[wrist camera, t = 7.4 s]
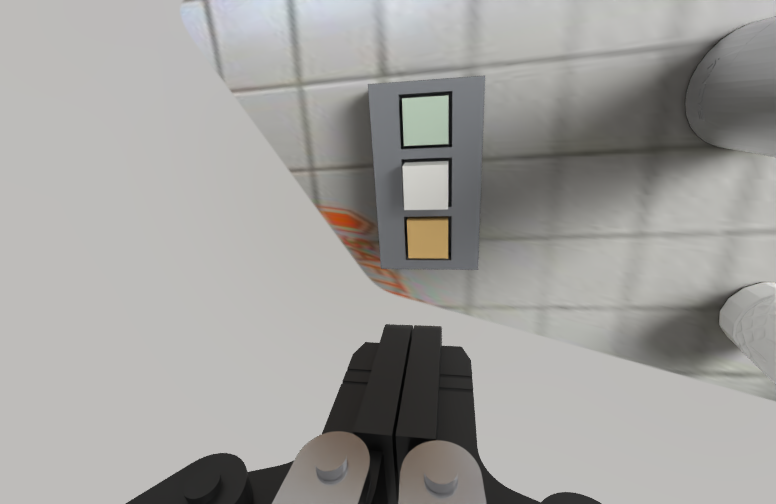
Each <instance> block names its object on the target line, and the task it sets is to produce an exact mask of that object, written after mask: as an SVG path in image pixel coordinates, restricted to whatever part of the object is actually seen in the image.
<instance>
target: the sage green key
mask: <svg viewBox="0 0 776 504" xmlns="http://www.w3.org/2000/svg"><path fill="white" fill-rule="evenodd" d="M402 112H403V136H404V146H414V145H436V144H448V138H449V95H446V96H431V97H416V98H402Z"/></svg>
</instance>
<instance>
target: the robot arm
mask: <svg viewBox="0 0 776 504" xmlns="http://www.w3.org/2000/svg"><path fill="white" fill-rule="evenodd" d="M685 107H686V116H687V119H688V121H689V124H690V126H691V128H692V129H693V131H694V132H695V133H696V134H697V136H698V137H700V138H701V139H703V140H704V141H705V142H707V143H709V144H712V145H714V146H717V147H721V148H727V149H733V150H738V151H744V152H750V153H755V154H760V155H766V156H772V157H776V16H775V17H771V18H768V19H764V20H760V21H757V22H753V23H750V24H748V25H746V26H743V27H741V28H739V29H737V30H735V31H734V32H732V33H731V34H729V35H728V36H726V37H725V38H723V39H722V40H720V41H719V42H718V43H717V44H716V45H715V46H714V47H713V48H712V49H711V50H710V51H709V52H708V53H707V54H706V56H705V57H704V58H703V59H702V61H701V62H700V63H699V64H698V66H697V68H696V70H695V72H694V74H693V75H692V77H691V80H690V83H689V86H688V89H687V93H686V101H685ZM126 504H601V503H600V502H598V501H596V500H594V499H592V498H590V497H587V496H584V495H581V494H576V493H570V492H562V493H556V494H553V495H550V496H549V497H547V498H545V499H544V500H543V501H542V502H541V503H540V502H538V501H536V500H533V499H531V498H529V497H526V496H524V495H522V494H519V493H517V492H515V491H513V490H511V489H509V488H507V487H505V486H504V485H502V484H501V483H500V482H498V481H497V480H496V479H495V478H494V477H493V476H492V475H491V474H490V473H489V472H488V471H487V469H486V468H485V466H484V465H483V463H482V461H481V459H480V457H479V454H478V449H477V438H476V424H475V411H474V397H473V383H472V370H471V360H470V358H469V357H468V356H467V354H466V353H465V351H464V350H463V348H462V347H454V346H442V328H441V327H440V326H416V325H415V326H414V329H413V326H412V325H388V324H386V325H385V327H384V330H383V334H382V337H381V340H380V343H369V342H365V343H364V344H363V345H362V346H361V347H360V348H359V349H358V350H357V351H356V352H355V353H354V354H353V356H352V359H351V361H350V364H349V366H348V370H347V372H346V374H345V377H344V379H343V384H341V387H340V389H339V392H338V394H337V397H336V399H335V402H334V404H333V407H332V410H331V412H330V415H329V418H328V420H327V422H326V425H325V428H324V430H323V432H322V435H319V436H317V437H316V438H314V439H312V440H311V441H309V442H308V443H307V444H306V445H305V446H304V447H303V448H302V449H301V450H300V452H299V453H298V455H297V457H296V458H295V460H294V461H292V462H290V463H287V464H283V465H280V466H275V467H271V468H266V469H261V470H256V471H251V472H247V470H246V466H245V464H244V462H243V461H242V460H241V459H240V458H238V457H237V456H235V455H232V454H227V453H219V454H213V455H209V456H206V457H203V458H201V459H199V460H197V461H195V462H194V463H191V464H190V465H188V466H187V467H185V468H183V469H182V470H180V471H179V472H177V473H175V474H173V475H172V476H170V477H168V478H167V479H165V480H164V481H162V482H160V483H159V484H157V485H155V486H154V487H152V488H150V489H149V490H147V491H146V492H144V493H142V494H141V495H139V496H137V497H136V498H134V499H132V500H131V501H129V502H128V503H126Z"/></svg>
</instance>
